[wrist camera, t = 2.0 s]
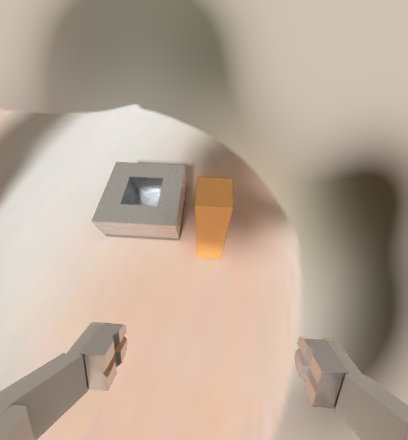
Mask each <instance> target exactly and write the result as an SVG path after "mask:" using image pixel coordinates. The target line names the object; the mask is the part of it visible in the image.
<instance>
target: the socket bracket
mask: <svg viewBox="0 0 408 440" xmlns="http://www.w3.org/2000/svg"><path fill="white" fill-rule="evenodd" d="M186 186H187V181H186V171H185V165H168V164H147V163H126V162H116V164H115V167H114V169H113V171H112V174H111V176H110V178H109V181H108V183H107V186H106V188H105V190H104V193H103V195H102V197H101V200H100V202H99V205H98V207H97V209H96V212H95V214H94V216H93V219H92V222H93V223H94V224H95V225H96V226H97V227H98V228H99V229H100V230H101V231H102V232H103V233H104V234H105V235H106V236H115V237H133V238H150V239H168V240H179V237H180V230H181V223H182V215H183V208H184V201H185V194H186Z"/></svg>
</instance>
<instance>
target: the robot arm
mask: <svg viewBox="0 0 408 440" xmlns="http://www.w3.org/2000/svg"><path fill="white" fill-rule="evenodd" d="M125 333H126V326H125V325H122V324H111V323H99V322H93V323H91V324H90V325H89V326H88V327H87V328H86V330H85V331H84V332H83V333H82V335H81V336H80V337H79V338H78V340H77V341H76V342H75V343H74V345H73V346H72V347H71V348H70V350H69V351H68V352H67V353H63V354H61V355H59V356H58V357H56V358H55V359H53V360H51V361H50V362H48V363H46V364H45V365H43V366H41V367H40V368H38V369H37V370H35V371H33V372H32V373H30V374H28V375H27V376H25V377H23V378H22V379H20V380H19V381H17V382H15V383H14V384H12V385H10V386H9V387H7V388H5V389H4V390H2V391H1V392H0V440H37V439H38V438H39V437H40V436H41V435H42V434H43V433H44V432H45V431H46V430H47V429H49V428H50V427H51V426H52V425H53V424H54V423H55V422H56V421H57V420H58V419H59V418H60V417H61V416H62V415H63V414H64V413H65V412H66V411H67V410H68V409H69V408H71V407H72V406H73V405H74V404H75V403H76V402H77V401H78V400H79V399H80V398H81V397H82V396H83V395H84V394H85V393H86V392H87V391H88V390H109V388H110V386H111V384H112V382H113V380H114V378H115V376H116V374H117V373H116V367H117V366H119V365H120V364H121V363H122V361H123V358H124V356H125V353H126V349H127V339H126V338H125V336H124V335H125ZM297 344H298V346H299V349H298V350H297V351H296V353H295V365H296V368H297V371H298V374H299V376H300V377H301V378H302V379H303V380H304V381H305V382H306V383H305V390H306V392H307V394H308V397H309V399H310V401H311V403H312V406H314V407H323V408H332V409H335V411H336V412H337V413H338V414H339V415H340V417H341V418H342V419H343V420H344V421H345V422H346V423H347V424H348V425H349V427H350V428H351V429H352V430H353V431H354V432H355V433H356V434H357V435H358V437H359V438H360V439H361V440H408V405H406V404H405V403H404V402H402V401H401V400H400V399H398V398H397V397H395V396H394V395H393V394H391V393H390V392H389V391H387V390H386V389H384V388H383V387H382V386H380V385H379V384H378V383H376V382H375V381H373V380H372V379H371V378H369V377H368V376H365V375H362V374H361V372H360V371H359V369H358V368H357V367H356V365H355V364H354V363H353V362H352V361H351V359H350V358H349V356H348V355H347V354H346V352H345V351H344V350H343V348H342V347H341V346H340V344H339V343H338V342H337V341H336V340H335V339H329V338H313V337H300V338H299V339H298V343H297Z"/></svg>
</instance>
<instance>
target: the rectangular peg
mask: <svg viewBox="0 0 408 440" xmlns="http://www.w3.org/2000/svg"><path fill="white" fill-rule="evenodd" d="M232 210H233V179H228V178H208V177H197V187H196V197H195V220H196V237H197V254H198V258H213V259H220V258H221V254H222V250H223V246H224V242H225V238H226V234H227V230H228V226H229V222H230V218H231V214H232Z"/></svg>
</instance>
